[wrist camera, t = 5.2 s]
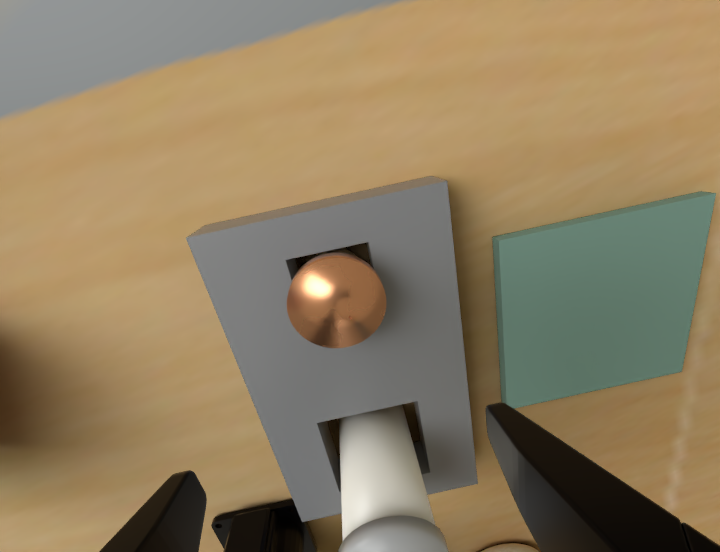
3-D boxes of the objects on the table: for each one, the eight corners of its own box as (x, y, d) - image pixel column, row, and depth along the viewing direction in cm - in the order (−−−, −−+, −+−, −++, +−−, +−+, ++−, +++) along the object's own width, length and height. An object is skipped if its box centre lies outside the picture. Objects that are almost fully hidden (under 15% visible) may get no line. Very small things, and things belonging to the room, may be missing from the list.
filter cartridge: (412, 437, 24) (456, 592, 16) (344, 452, 24) (351, 615, 16) (402, 381, 22) (445, 524, 14) (327, 397, 22) (325, 550, 14)
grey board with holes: (464, 452, 25) (477, 483, 23) (304, 486, 25) (302, 522, 23) (431, 175, 18) (447, 180, 15) (205, 225, 18) (185, 237, 15)
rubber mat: (670, 364, 24) (681, 371, 23) (501, 401, 24) (507, 409, 23) (701, 191, 19) (715, 193, 18) (492, 236, 19) (498, 240, 18)
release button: (381, 300, 20) (393, 336, 16) (307, 316, 20) (301, 357, 16) (367, 226, 18) (376, 248, 14) (285, 244, 18) (274, 270, 14)
